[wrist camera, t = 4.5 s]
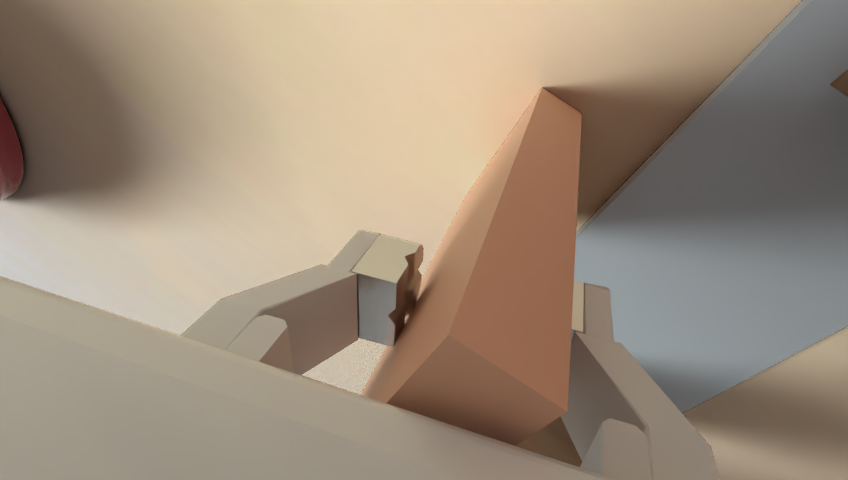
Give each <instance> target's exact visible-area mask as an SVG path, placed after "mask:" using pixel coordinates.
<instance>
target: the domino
mask: <svg viewBox="0 0 848 480" xmlns="http://www.w3.org/2000/svg"><path fill="white" fill-rule="evenodd" d="M581 122H582V114H581V113H580V112H578V111H577V110H575V109H574V108H572V107H571V106H569V105H568V104H566V103H565V102H563V101H562V100H560V99H559V98H557V97H556V96H554V95H553V94H551V93H550V92H548V91H547V90H545V89H544V88H541V90H540V91H539V93H538V94H537V96H536V97H535V98H534V100H533V101H532V103H531V104H530V106H529V107H528V108H527V110H526V111H525V113H524V114H523V116H522V117H521V118H520V120H519V121H518V123H517V124H516V125H515V127H514V128H513V130H512V131H511V133H510V134H509V135H508V137H507V138H506V140H505V141H504V143H503V144H502V145H501V147H500V148H499V150H498V151H497V153H496V154H495V155H494V157H493V158H492V160H491V161H490V163H489V164H488V165H487V167H486V168H485V170H484V171H483V173H482V174H481V175H480V177H479V178H478V180H477V181H476V183H475V184H474V185H473V187H472V188H471V190H470V191H469V193H468V194H467V195H466V197H465V199H464V201H463V203H462V205H461V206H460V208H459V210H458V212H457V214H456V216H455V218H454V220H453V222H452V223H451V225H450V227H449V229H448V231H447V233H446V235H445V237H444V239H443V240H442V242H441V244H440V246H439V248H438V250H437V252H436V254H435V256H434V257H433V259H432V261H431V263H430V265H429V267H428V269H427V271H426V273H425V274H424V276H423V278H422V280H421V286H420V291H419V295H418V298H417V301H416V303H415V305H414V307H413V309H412V311H411V313H410V314H409V315H407V316H405V325H404V327H403V329H402V331H401V333H400V335H399V337H398V339H397V341H396V343H395V345H394V346H393V347H391V346H388V345H387V346H386V348H385V350H384V352H383V354H382V356H381V357H380V359H379V361H378V363H377V365H376V367H375V369H374V371H373V373H372V374H371V376H370V378H369V380H368V382H367V384H366V386H365V388H364V390H363V391H362V393H361V395H362V396H366V397H369V398H372V399H375V400H378V401H381V402H384V403H387V404H390V405H393V406H396V407H399V408H402V409H405V410H408V411H411V412H414V413H417V414H420V415H423V416H426V417H429V418H432V419H435V420H438V421H441V422H444V423H448V424H451V425H454V426H457V427H460V428H463V429H466V430H469V431H472V432H475V433H478V434H481V435H484V436H487V437H490V438H493V439H496V440H499V441H502V442H505V443H508V444H511V445H514V446H516V445H518V444H519V443H521V442H522V441H524V440H525V439H527V438H528V437H530V436H531V435H533V434H534V433H536V432H537V431H539V430H540V429H542V428H543V427H545V426H547V425H548V424H550V423H551V422H553V421H554V420H556V419H557V418H559V417H560V416H562V415H563V414H565V413H566V412H568V391H569V371H570V350H571V329H572V309H573V288H574V267H575V246H576V226H577V205H578V184H579V163H580V143H581Z"/></svg>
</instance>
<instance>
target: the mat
mask: <svg viewBox="0 0 848 480" xmlns="http://www.w3.org/2000/svg"><path fill="white" fill-rule="evenodd" d="M847 69H848V0H802V1H801V2H800V4H799V5H798V6H797V7H796V8H795V9H794V10H793V11H792V12H791V13H790V14H789V15H788V16H787V17H786V18H785V19H784V20H783V21H782V22H781V23H780V24H779V25H778V26H777V27H776V28H775V29H774V30H773V31H772V32H771V33H770V34H769V35H768V36H767V37H766V38H765V39H764V40H763V41H762V42H761V43H760V45H759V46H758V47H757V48H756V49H755V50H754V51H753V52H752V53H751V54H750V55H749V56H748V57H747V58H746V59H745V60H744V61H743V62H742V63H741V64H740V65H739V66H738V67H737V68H736V69H735V70H734V71H733V72H732V73H731V74H730V75H729V76H728V77H727V78H726V79H725V80H724V81H723V82H722V83H721V84H720V85H719V87H718V88H717V89H716V90H715V91H714V92H713V93H712V94H711V95H710V96H709V97H708V98H707V99H706V100H705V101H704V102H703V103H702V104H701V105H700V106H699V107H698V108H697V109H696V110H695V111H694V112H693V113H692V114H691V115H690V116H689V117H688V118H687V119H686V120H685V121H684V122H683V123H682V124H681V125H680V126H679V128H678V129H677V130H676V131H675V132H674V133H673V134H672V135H671V136H670V137H669V138H668V139H667V140H666V141H665V142H664V143H663V144H662V145H661V146H660V147H659V148H658V149H657V150H656V151H655V152H654V153H653V154H652V155H651V156H650V157H649V158H648V159H647V160H646V161H645V162H644V163H643V164H642V165H641V166H640V167H639V169H638V170H637V171H636V172H635V173H634V174H633V175H632V176H631V177H630V178H629V179H628V180H627V181H626V182H625V183H624V184H623V185H622V186H621V187H620V188H619V189H618V190H617V191H616V192H615V193H614V194H613V195H612V196H611V197H610V198H609V199H608V200H607V201H606V202H605V203H604V204H603V205H602V206H601V207H600V208H599V209H598V211H597V212H596V213H595V214H594V215H593V216H592V217H591V218H590V219H589V220H588V221H587V222H586V223H585V224H584V225H583V226H582V227H581V228H580V229H579V230H578V231H577V232H576V246H575V267H574V281H577V282H581V283H583V282H584V283H589V284H593V285H598V286H603V287H608V288H609V290H610V296H611V309H612V323H613V336H614V341H615V342H618V343H621V344H622V345H623V346H624V347H625V348H626V349H627V350H628V351H629V353H630V354H631V355H632V356H633V357H634V358H635V360H636V361H637V362H638V363H639V364H640V365H641V367H642V368H643V369H644V370H645V371H646V372H647V373H648V375H649V376H650V377H651V378H652V379H653V380H654V382H655V383H656V384H657V385H658V386H659V387H660V388H661V390H662V391H663V392H664V393H665V394H666V395H667V397H668V398H669V399H670V400H671V401H672V402H673V403H674V405H675V406H676V407H677V408H678V409H679V410H680V412H681V413H684V412H686V411H688V410H690V409H692V408H694V407H696V406H697V405H699V404H701V403H703V402H705V401H707V400H709V399H711V398H713V397H714V396H716V395H718V394H720V393H722V392H724V391H726V390H728V389H730V388H731V387H733V386H735V385H737V384H739V383H741V382H743V381H745V380H747V379H748V378H750V377H752V376H754V375H756V374H758V373H760V372H762V371H764V370H765V369H767V368H769V367H771V366H773V365H775V364H777V363H779V362H781V361H782V360H784V359H786V358H788V357H790V356H792V355H794V354H796V353H798V352H799V351H801V350H803V349H805V348H807V347H809V346H811V345H813V344H815V343H816V342H818V341H820V340H822V339H824V338H826V337H828V336H830V335H832V334H833V333H835V332H837V331H839V330H841V329H843V328H845V327H847V326H848V97H847V96H845V95H844V94H842V93H841V92H839V91H838V90H836V89H835V88H833V87H832V86H831V85H830V84H831V83H832V82H833V81H834V80H835V79H837V78H838V77H839V76H840V75H841V74H842V73H844V72H845V71H846V70H847Z"/></svg>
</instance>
